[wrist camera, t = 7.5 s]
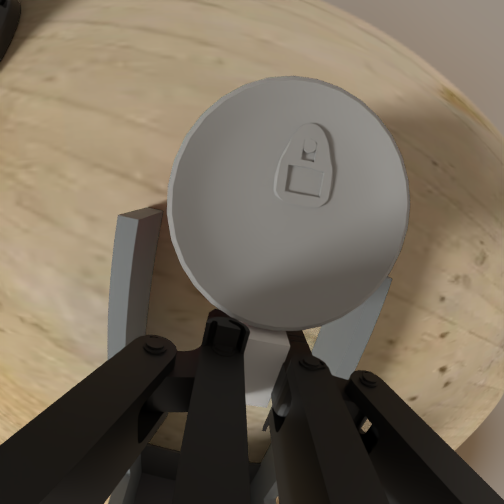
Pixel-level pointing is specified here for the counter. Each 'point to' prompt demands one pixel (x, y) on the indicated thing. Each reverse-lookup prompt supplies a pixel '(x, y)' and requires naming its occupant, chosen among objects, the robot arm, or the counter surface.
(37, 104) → the counter surface
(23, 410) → the counter surface
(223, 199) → the canned food
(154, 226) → the trap channel
